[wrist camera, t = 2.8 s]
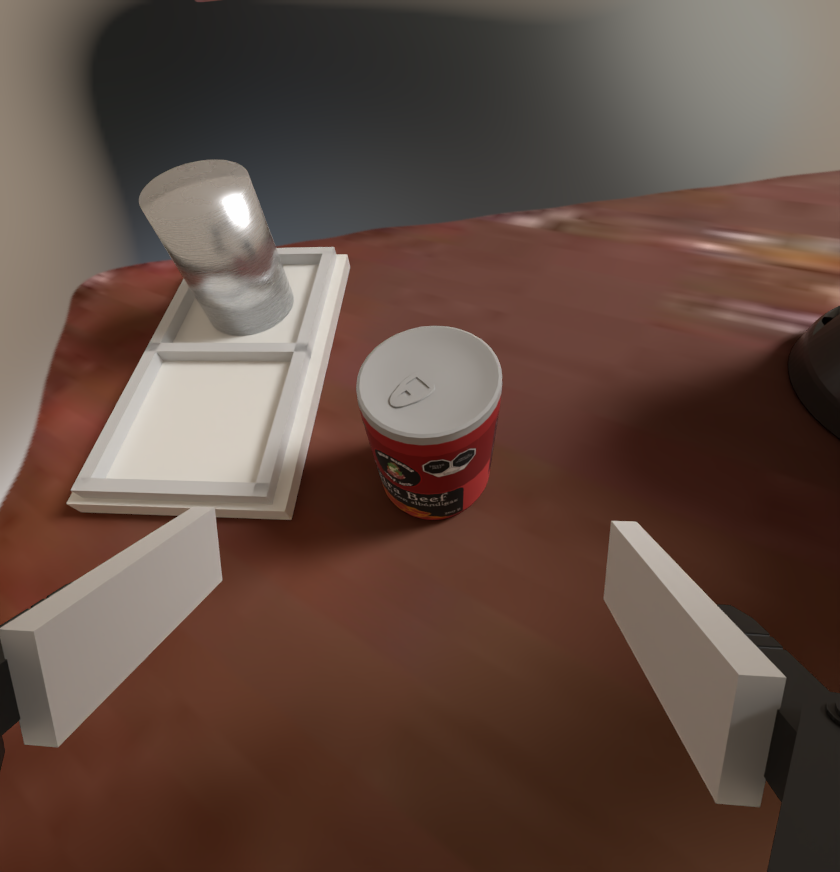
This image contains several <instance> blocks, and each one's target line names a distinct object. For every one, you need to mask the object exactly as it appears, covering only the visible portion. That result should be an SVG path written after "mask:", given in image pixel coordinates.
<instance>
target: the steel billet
mask: <svg viewBox="0 0 840 872" xmlns="http://www.w3.org/2000/svg"><path fill="white" fill-rule="evenodd" d="M139 205H140V207H141V209H142V210H143V212H144V214H145V215H146V217H147V219H148V220H149V222H150V223H151V225H152V227H153V229H154V230H155V232H156V233H157V235H158V237H159V238H160V240H161V242H162V243H163V245H164V247H165V248H166V250H167V251H168V253H169V255H170V257H171V258H172V260H173V261H174V263H175V265H176V266H177V268H178V270H179V271H180V273H181V275H182V276H183V278H184V280H185V281H186V283H187V285H188V286H189V288H190V289H191V291H192V293H193V294H194V296H195V298H196V299H197V301H198V303H199V304H200V306H201V308H202V309H203V311H204V312H205V314H206V316H207V317H208V319H209V321H210V322H211V324H212V325H213V327H214V328H215V329H217V330H218V331H220V332H222V333H224V334H228V335H233V336H248V335H253V334H258V333H261V332H264V331H266V330H268V329H270V328H272V327H274V326H275V325H277V324H278V323H280V322H281V321H282V320H283V319H284V318H285V317H286V316H287V315H288V314H289V312H290V311H291V309H292V306H293V303H294V295H293V292H292V289H291V286H290V284H289V281H288V278H287V276H286V273H285V270H284V268H283V265H282V262H281V260H280V257H279V254H278V252H277V249H276V246H275V244H274V241H273V238H272V236H271V233H270V230H269V228H268V225H267V222H266V220H265V217H264V214H263V212H262V209H261V207H260V204H259V201H258V198H257V196H256V193H255V190H254V188H253V185H252V182H251V179H250V177H249V174H248V172H247V170H246V169H245V168H244V167H243V166H241V165H239V164H237V163H235V162H231V161H225V160H203V161H196V162H192V163H188V164H184V165H181V166H178V167H175V168H173V169H170V170H168V171H166V172H165V173H162V174H161V175H159V176H158V177H156V178H154V179H153V180H152V181H151V182H150V183H148V184H147V185H146V186H145V188H144V189H143V191H142V192H141V194H140V197H139Z"/></svg>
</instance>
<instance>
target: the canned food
mask: <svg viewBox="0 0 840 872" xmlns="http://www.w3.org/2000/svg"><path fill="white" fill-rule="evenodd" d="M356 390H357V398H358V405H359V408H360V412H361V416H362V420H363V423H364V426H365V430H366V433H367V436H368V439H369V443H370V446H371V449H372V452H373V455H374V459H375V462H376V465H377V468H378V472H379V475H380V478H381V481H382V485H383V487H384V490H385V492H386V494H387V496H388V497H389V498H390V500H391V501H392V502H393V503H394V504H395V505H396V506H397V507H398V508H399V509H401V510H403V511H404V512H406V513H408V514H410V515H411V516H414V517H417V518H421V519H428V520H438V519H445V518H449V517H452V516H454V515H457V514H459V513H461V512H463V511H464V510H465V509H467V508H468V507H470V506H471V505H472V504H473V503H474V502H475V501H476V500H477V499H478V498H479V496H480V495H481V493H482V492H483V490H484V489H485V487H486V484H487V481H488V479H489V473H490V466H491V460H492V453H493V447H494V440H495V434H496V427H497V421H498V414H499V408H500V400H501V391H502V372H501V366H500V363H499V361H498V358H497V356H496V355H495V353H494V352H493V350H492V349H491V348H490V347H489V346H488V345H487V344H486V343H485V342H484V341H483V340H482V339H480V338H478V337H476V336H475V335H473V334H471V333H469V332H466V331H463V330H461V329H457V328H452V327H446V326H426V327H419V328H414V329H410V330H407V331H404V332H401V333H398V334H396V335H394V336H392V337H390V338H389V339H387V340H385V341H384V342H382V343H381V344H380V345H379V346H377V347H376V348H375V349H374V350H373V351H372V352H371V353H370V354H369V355H368V356H367V358H366V360H365V361H364V363H363V364H362V366H361V368H360V371H359V374H358V377H357V386H356Z"/></svg>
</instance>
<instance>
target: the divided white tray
mask: <svg viewBox="0 0 840 872" xmlns="http://www.w3.org/2000/svg"><path fill="white" fill-rule="evenodd" d="M276 249H277V252H278V254H279V257H280V260H281V262H282V265H283V268H284V270H285V273H286V276H287V278H288V281H289V284H290V286H291V289H292V292H293V295H294V303H293V306H292V309H291V311H290V312H289V314H288V315H287V316H286V317H285V318H284V319H283V320H282V321H281V322H280V323H278V324H277V325H275V326H274V327H272V328H270V329H268V330H266V331H264V332H261V333H258V334H253V335H248V336H233V335H228V334H224V333H222V332H220V331H218V330H217V329H215V328H214V327H213V325H212V324H211V322H210V321H209V319H208V317H207V316H206V314H205V312H204V311H203V309H202V308H201V306H200V304H199V303H198V301H197V299H196V298H195V296H194V294H193V293H192V291H191V289H190V288H189V286H188V285H187V283H186V281H185V280H184V279H183V281H182V283H181V285H180V286H179V288H178V290H177V292H176V294H175V296H174V298H173V299H172V301H171V303H170V305H169V307H168V309H167V311H166V313H165V314H164V316H163V318H162V320H161V322H160V324H159V326H158V328H157V329H156V331H155V333H154V335H153V337H152V339H151V341H150V342H149V344H148V346H147V348H146V350H145V352H144V354H143V356H142V357H141V359H140V361H139V363H138V365H137V367H136V369H135V371H134V372H133V374H132V376H131V378H130V380H129V382H128V384H127V385H126V387H125V389H124V391H123V393H122V395H121V397H120V399H119V400H118V402H117V404H116V406H115V408H114V410H113V412H112V414H111V415H110V417H109V419H108V421H107V423H106V425H105V427H104V429H103V430H102V432H101V434H100V436H99V438H98V440H97V442H96V443H95V445H94V447H93V449H92V451H91V453H90V455H89V457H88V458H87V460H86V462H85V464H84V466H83V468H82V470H81V472H80V473H79V475H78V477H77V479H76V481H75V483H74V485H73V486H72V488H71V491H72V494H71V496H70V497H69V499H68V501H67V503H66V504H67V505H69V506H71V507H73V508H74V509H76V510H78V511H80V512H89V513H117V514H144V515H171V516H179V515H181V514H182V513H184V512H186V511H187V510H189V509H190V508H192V507H215V515H216V517H225V518H252V519H279V520H292V516H293V512H294V508H295V503H296V499H297V495H298V490H299V486H300V482H301V477H302V473H303V469H304V464H305V460H306V456H307V451H308V447H309V443H310V438H311V434H312V430H313V425H314V421H315V417H316V413H317V408H318V404H319V400H320V395H321V391H322V387H323V382H324V378H325V374H326V369H327V365H328V361H329V356H330V352H331V348H332V343H333V339H334V335H335V330H336V326H337V322H338V317H339V313H340V309H341V304H342V300H343V296H344V292H345V287H346V283H347V279H348V274H349V270H350V264H349V260H348V255H347V254H342V255H336V252H335V248H334V247H307V248H276Z"/></svg>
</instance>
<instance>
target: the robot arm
mask: <svg viewBox="0 0 840 872" xmlns="http://www.w3.org/2000/svg"><path fill="white" fill-rule="evenodd" d="M788 370H789V376H790V380H791V383H792V385H793V388H794V390H795V392H796V394H797V395H798V397H799V399H800V400H801V402H802V403H803V404H804V406H805V407H806V408H807V409H808V411H809V412H810V413H811V414H812V415H813V416H814V417H815V418H816V419H817V420H818V421H819V422H820V423H821V424H822V425H823V426H824V427H825V428H827V429H828V430H829V431H830V432H832V433H833V434H834V435H835V436H837V437H838V438H840V306H838V307H836V308H834V309H832V310H831V311H829V312H827V313H826V314H824V315H823V316H821V317H820V318H819V319H818V320H816V321H815V322H814V323H813V324H812V325H811V326H810V328H809V329H808V330H807V331H806V332H805V333H804V334H803V335H802V336H801V337H800V339H799V340H798V341H797V342H796V343H795V345H794V346H793V348H792V350H791V352H790V356H789V361H788ZM221 581H222V572H221V563H220V553H219V544H218V534H217V524H216V515H215V507H192V508H190V509H189V510H187V511H186V512H184V513H182V514H181V515H179V516H178V517H176V518H174V519H173V520H171V521H170V522H168V523H166V524H165V525H163V526H162V527H160V528H158V529H157V530H155V531H154V532H152V533H150V534H149V535H147V536H146V537H144V538H143V539H141V540H139V541H138V542H136V543H135V544H133V545H131V546H130V547H128V548H127V549H125V550H123V551H122V552H120V553H119V554H117V555H115V556H114V557H112V558H111V559H109V560H108V561H106V562H104V563H103V564H101V565H100V566H98V567H96V568H95V569H93V570H92V571H90V572H88V573H87V574H85V575H84V576H82V577H80V578H79V579H77V580H76V581H74V582H71V583H69V584H66V585H64V586H63V587H61V588H60V589H58V590H56V591H55V592H53V593H52V594H50V595H48V596H47V598H46V599H42V600H40V601H39V602H37V603H36V604H34V605H32V606H31V609H26V610H24V611H23V612H21V613H20V614H18V615H16V616H15V617H13V618H12V619H10V620H8V621H7V622H5V623H4V624H2V625H0V770H1V766H2V761H3V757H4V753H5V748H4V742H3V738H2V735H3V734H4V733H5V732H6V731H7V730H8V729H10V728H11V727H12V726H13V725H14V724H15V723H17V722H18V721H19V723H20V727H21V731H22V736H23V740H24V744H25V745H36V746H48V747H59V746H60V745H61V744H62V743H63V742H64V741H65V740H66V739H67V738H68V737H69V736H70V735H71V734H72V733H73V732H74V731H75V730H76V729H77V728H78V727H79V726H80V724H81V723H82V722H83V721H84V720H85V719H86V718H87V717H88V716H89V715H90V714H91V713H92V712H93V711H94V710H95V709H96V708H97V707H98V706H99V705H100V704H101V703H102V702H103V701H104V700H105V699H106V698H107V697H108V696H109V695H110V694H111V693H112V692H113V691H114V690H115V689H116V688H117V687H118V686H119V685H120V684H121V683H122V682H123V681H124V680H125V679H126V678H127V677H128V676H129V675H130V674H131V673H132V672H133V671H134V670H135V669H136V668H137V667H138V666H139V665H140V664H141V663H142V662H143V661H144V660H145V658H146V657H147V656H148V655H149V654H150V653H151V652H152V651H153V650H154V649H155V648H156V647H157V646H158V645H159V644H160V643H161V642H162V641H163V640H164V639H165V638H166V637H167V636H168V635H169V634H170V633H171V632H172V631H173V630H174V629H175V628H176V627H177V626H178V625H179V624H180V623H181V622H182V621H183V620H184V619H185V618H186V617H187V616H188V615H189V614H190V613H191V612H192V611H193V610H194V609H195V608H196V607H197V606H198V605H199V604H200V603H201V602H202V601H203V600H204V599H205V598H206V597H207V596H208V595H209V594H210V592H211V591H212V590H213V589H214V588H215V587H216V586H217V585H218V584H219V583H220V582H221ZM604 601H605V603H606V604H607V606H608V608H609V610H610V612H611V614H612V615H613V617H614V619H615V621H616V623H617V624H618V626H619V628H620V630H621V632H622V633H623V635H624V637H625V639H626V641H627V643H628V644H629V646H630V648H631V650H632V652H633V653H634V655H635V657H636V659H637V661H638V663H639V664H640V666H641V668H642V670H643V672H644V673H645V675H646V677H647V679H648V681H649V683H650V684H651V686H652V688H653V690H654V692H655V693H656V695H657V697H658V699H659V701H660V702H661V704H662V706H663V708H664V710H665V712H666V713H667V715H668V717H669V719H670V721H671V722H672V724H673V726H674V728H675V730H676V732H677V733H678V735H679V737H680V739H681V741H682V742H683V744H684V746H685V748H686V750H687V752H688V753H689V755H690V757H691V759H692V761H693V762H694V764H695V766H696V768H697V770H698V772H699V773H700V775H701V777H702V779H703V781H704V782H705V784H706V786H707V788H708V790H709V791H710V793H711V795H712V797H713V799H714V801H715V802H716V803H717V804H728V805H740V806H752V807H760V805H761V800H762V796H763V791H764V786H765V781H767V782H768V784H769V785H770V786H771V788H772V789H773V791H774V792H775V794H776V795H777V797H778V798H779V799H780V801H781V802H782V804H781V809H780V813H779V818H778V823H777V827H776V832H775V836H774V841H773V846H772V850H771V855H770V860H769V865H768V870H767V872H840V693H835V692H830V691H829V690H827V689H826V688H825V687H824V686H823V685H822V684H821V683H820V682H819V681H818V680H817V679H816V678H815V677H814V676H813V675H812V674H811V673H810V672H809V671H808V670H807V669H805V668H804V667H803V666H802V665H801V664H800V663H799V662H798V661H797V660H796V659H795V658H794V657H793V656H792V655H791V654H790V653H789V652H788V651H787V650H783V647H782V646H781V645H780V644H779V643H778V642H777V641H776V640H775V639H774V638H773V637H770V636H769V633H768V632H767V631H766V630H765V629H764V628H763V627H761V626H760V625H759V624H758V623H757V622H756V621H755V620H754V619H753V618H751V617H750V616H748V615H746V614H745V613H743V612H741V611H740V610H738V609H736V608H735V607H733V606H731V605H717V604H715V603H714V602H713V601H712V600H711V599H710V598H709V597H708V596H707V595H706V593H705V592H704V591H703V590H702V589H701V588H700V587H699V586H698V585H697V584H696V583H695V582H694V581H693V580H692V579H691V578H690V577H689V576H688V575H687V574H686V573H685V572H684V571H683V570H682V569H681V568H680V566H679V565H678V564H677V563H676V562H675V561H674V560H673V559H672V558H671V557H670V556H669V555H668V554H667V553H666V552H665V551H664V550H663V549H662V548H661V547H660V546H659V545H658V544H657V543H656V542H655V541H654V539H653V538H652V537H651V536H650V535H649V534H648V533H647V532H646V531H645V530H644V529H643V528H642V527H641V526H640V525H639V524H638V523H637V522H633V521H611V528H610V538H609V548H608V559H607V569H606V579H605V589H604Z"/></svg>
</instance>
